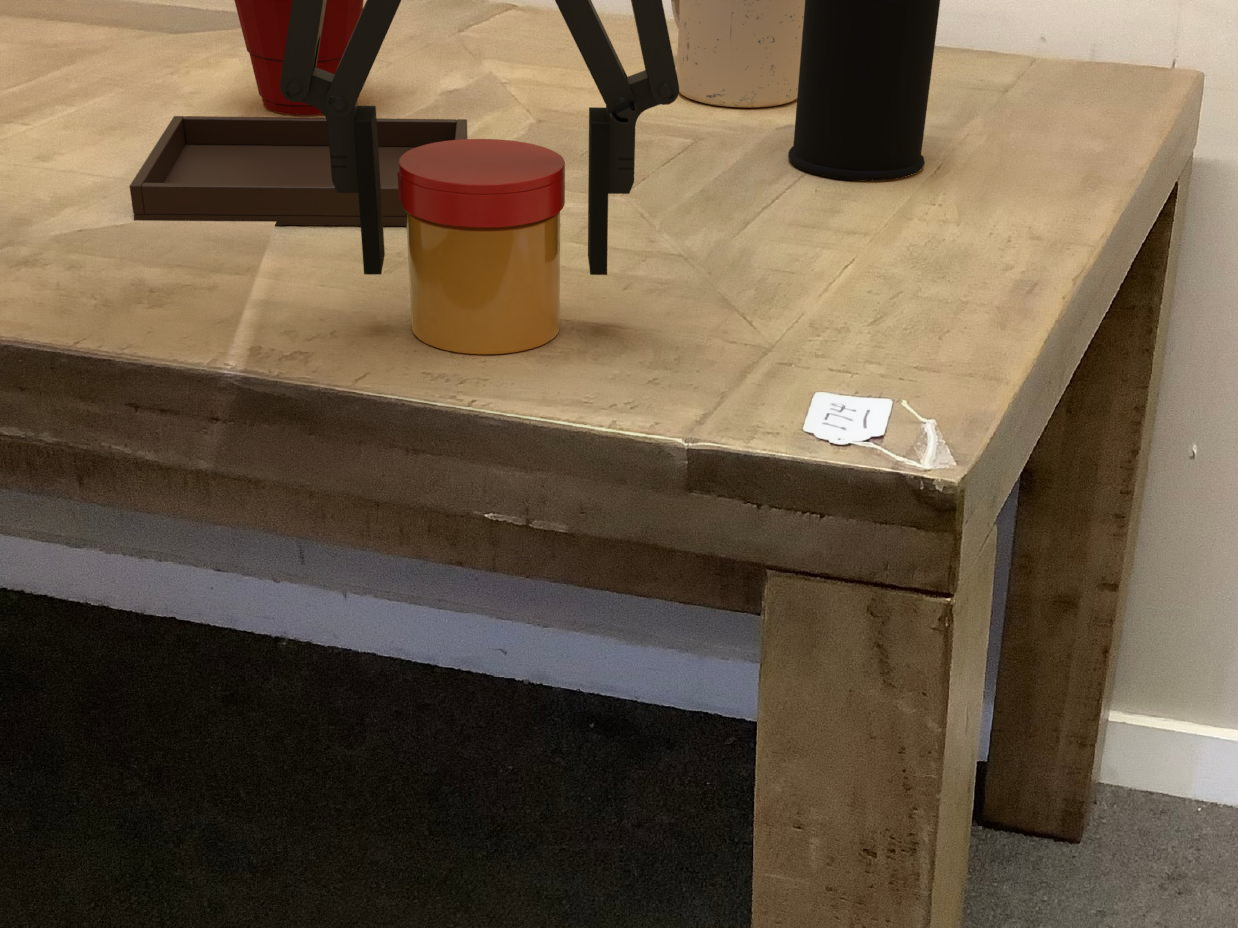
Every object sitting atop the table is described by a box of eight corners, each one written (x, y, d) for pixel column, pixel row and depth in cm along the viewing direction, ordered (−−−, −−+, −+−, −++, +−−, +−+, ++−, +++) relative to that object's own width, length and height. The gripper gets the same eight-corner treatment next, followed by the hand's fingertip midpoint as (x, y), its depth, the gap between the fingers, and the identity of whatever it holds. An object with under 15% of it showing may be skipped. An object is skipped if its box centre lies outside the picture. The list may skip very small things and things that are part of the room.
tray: (134, 224, 88) (129, 185, 87) (178, 150, 100) (173, 115, 99) (462, 226, 89) (461, 188, 88) (468, 153, 101) (467, 119, 100)
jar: (408, 354, 74) (399, 194, 70) (415, 301, 80) (407, 150, 76) (561, 355, 75) (562, 195, 71) (558, 302, 80) (558, 151, 76)
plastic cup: (222, 129, 104) (199, -85, 97) (222, 87, 113) (201, -113, 106) (398, 125, 106) (388, -86, 99) (385, 84, 115) (374, -113, 108)
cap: (394, 227, 71) (392, 183, 70) (403, 178, 77) (401, 137, 76) (567, 228, 71) (567, 185, 70) (562, 179, 77) (562, 139, 76)
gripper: (155, -333, 59) (227, 292, 72) (775, -318, 60) (738, 293, 73) (188, -340, 65) (249, 237, 78) (750, -326, 66) (720, 239, 79)
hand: (486, 264), depth 76 cm, fingers open, 9 cm apart
